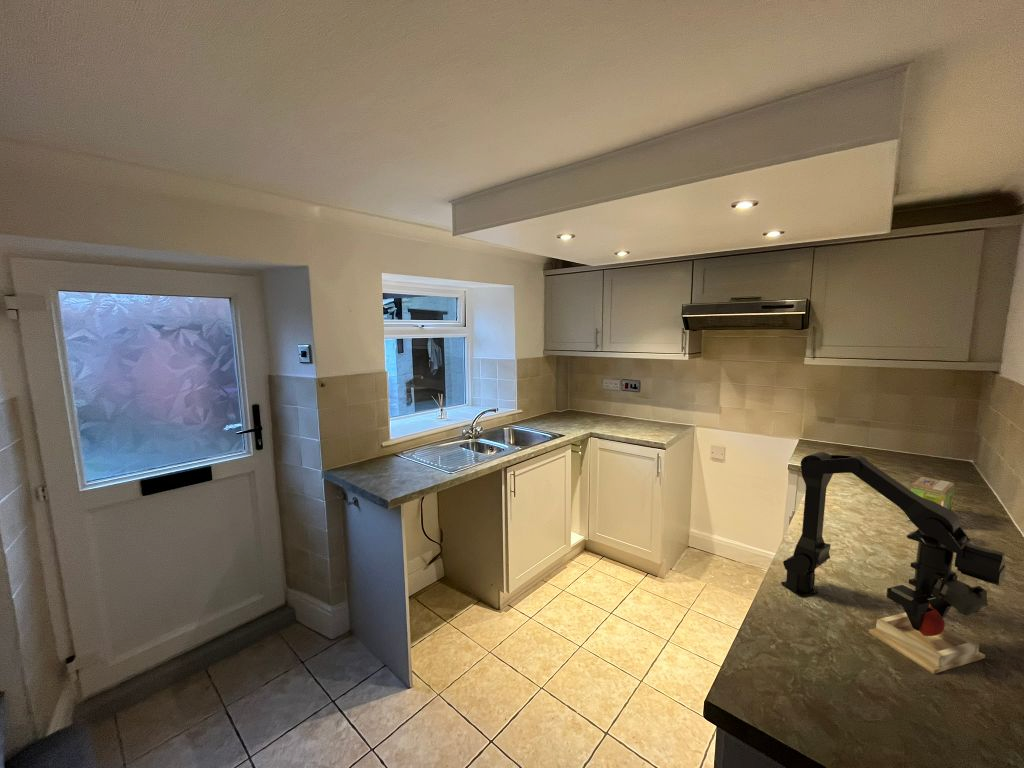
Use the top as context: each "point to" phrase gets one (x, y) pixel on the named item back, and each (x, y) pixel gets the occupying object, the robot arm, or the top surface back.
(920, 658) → the tray
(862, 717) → the top surface
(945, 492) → the tea box
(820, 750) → the top surface
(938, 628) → the onion
